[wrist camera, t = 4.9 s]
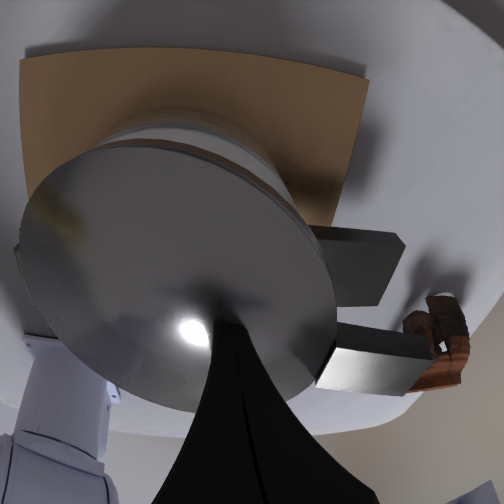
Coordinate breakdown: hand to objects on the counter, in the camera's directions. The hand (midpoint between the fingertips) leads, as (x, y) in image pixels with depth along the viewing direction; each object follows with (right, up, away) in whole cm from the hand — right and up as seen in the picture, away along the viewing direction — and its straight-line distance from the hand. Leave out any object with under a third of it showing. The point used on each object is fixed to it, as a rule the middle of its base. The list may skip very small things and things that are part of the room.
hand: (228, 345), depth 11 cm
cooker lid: (-1, +1, +1) cm, 2 cm away
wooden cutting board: (-3, +5, +7) cm, 9 cm away
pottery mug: (+16, -4, +17) cm, 24 cm away
